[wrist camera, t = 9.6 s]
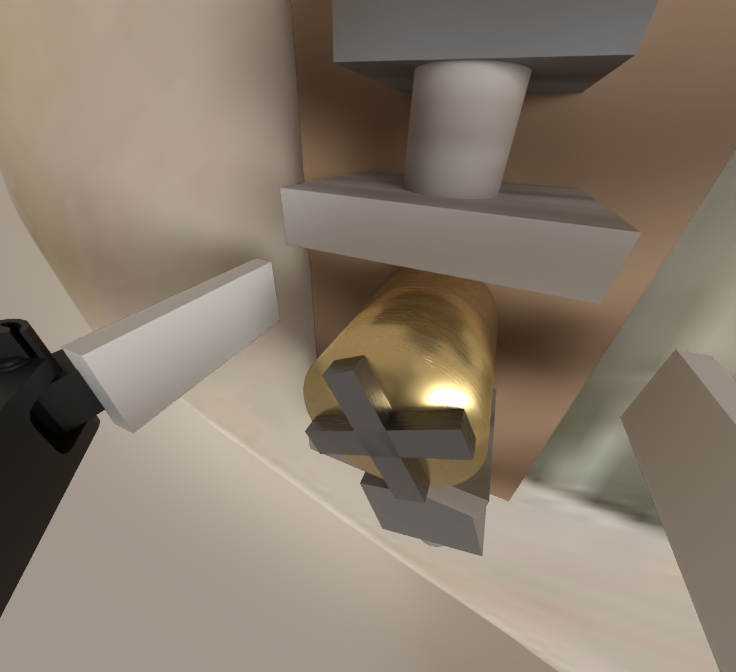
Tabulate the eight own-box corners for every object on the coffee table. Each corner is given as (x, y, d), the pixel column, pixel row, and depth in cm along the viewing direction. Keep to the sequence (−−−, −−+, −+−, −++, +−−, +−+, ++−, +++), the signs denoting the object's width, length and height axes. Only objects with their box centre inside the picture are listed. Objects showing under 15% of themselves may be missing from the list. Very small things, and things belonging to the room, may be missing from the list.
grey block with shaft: (378, 386, 16) (344, 450, 12) (472, 387, 13) (459, 466, 10) (408, 465, 18) (385, 535, 15) (489, 478, 16) (484, 563, 13)
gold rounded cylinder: (359, 281, 13) (258, 375, 8) (477, 240, 10) (441, 342, 5) (402, 372, 14) (343, 497, 9) (512, 358, 12) (512, 522, 7)
